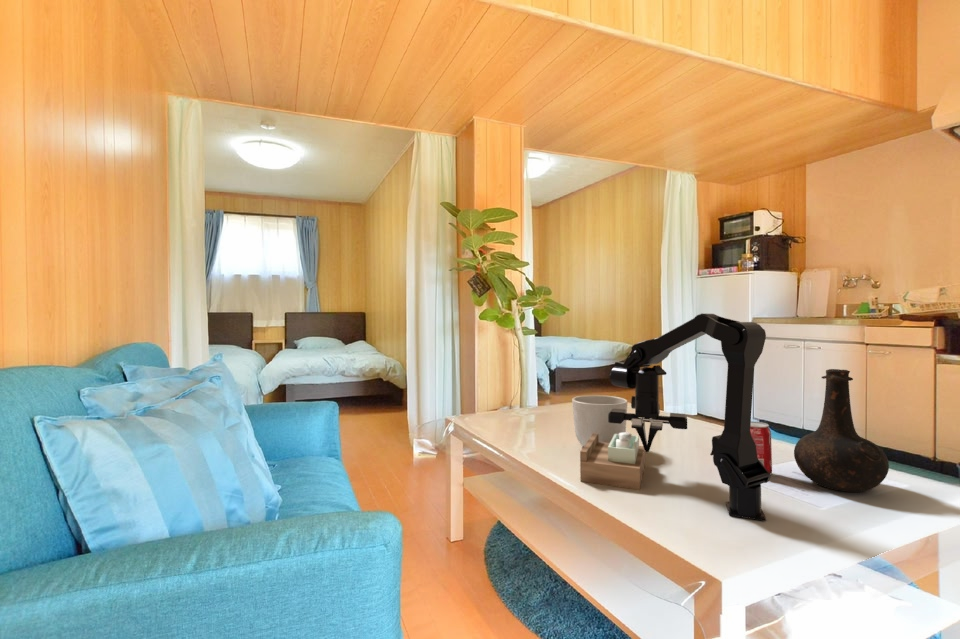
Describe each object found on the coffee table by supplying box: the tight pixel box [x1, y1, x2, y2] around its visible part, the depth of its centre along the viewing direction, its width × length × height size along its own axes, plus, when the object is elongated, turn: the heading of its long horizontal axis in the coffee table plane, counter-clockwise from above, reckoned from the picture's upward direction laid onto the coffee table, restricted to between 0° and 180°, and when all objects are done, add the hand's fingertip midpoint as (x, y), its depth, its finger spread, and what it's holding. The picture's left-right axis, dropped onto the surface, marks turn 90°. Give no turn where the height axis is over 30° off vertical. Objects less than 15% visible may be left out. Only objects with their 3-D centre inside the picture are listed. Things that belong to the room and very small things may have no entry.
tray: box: [608, 431, 640, 464], centre depth 116 cm, size 14×6×5 cm, turn 156°
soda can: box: [750, 420, 773, 475], centre depth 115 cm, size 7×7×13 cm
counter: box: [579, 433, 646, 490], centre depth 117 cm, size 20×14×8 cm
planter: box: [571, 394, 629, 447], centre depth 140 cm, size 17×17×15 cm
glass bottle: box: [793, 368, 890, 493], centre depth 107 cm, size 18×18×28 cm
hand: (647, 451), depth 114 cm, fingers closed
